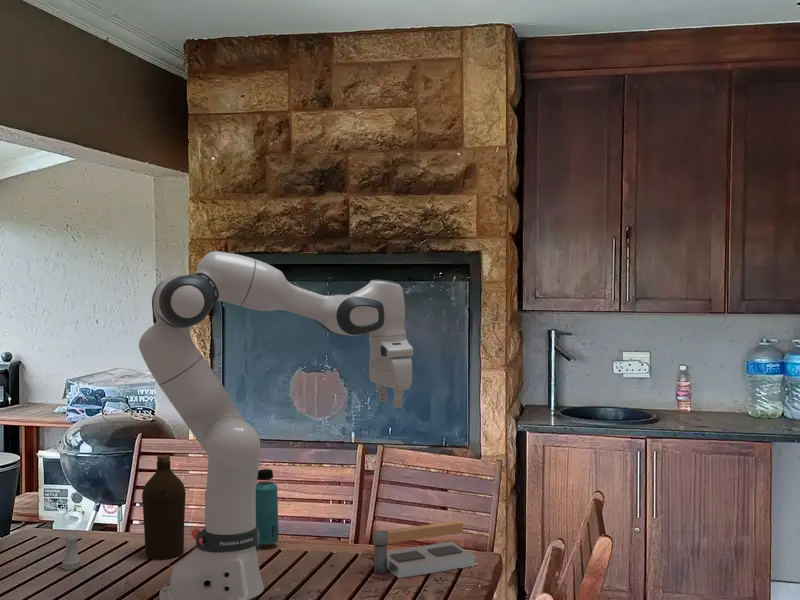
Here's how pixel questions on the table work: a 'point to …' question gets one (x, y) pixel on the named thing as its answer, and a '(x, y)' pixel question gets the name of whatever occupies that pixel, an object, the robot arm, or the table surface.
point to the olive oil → (164, 512)
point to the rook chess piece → (71, 553)
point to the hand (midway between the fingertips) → (390, 404)
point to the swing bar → (417, 532)
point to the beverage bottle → (266, 508)
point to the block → (421, 559)
